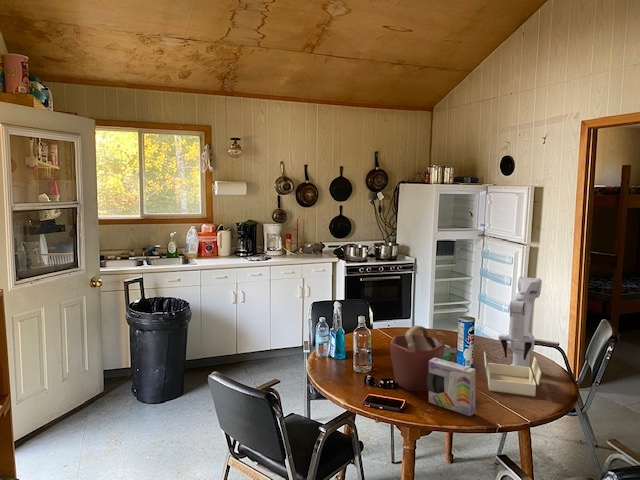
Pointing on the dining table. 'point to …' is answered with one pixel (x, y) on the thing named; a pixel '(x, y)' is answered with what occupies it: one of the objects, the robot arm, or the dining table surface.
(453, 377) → the cake pan box
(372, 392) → the dining table surface
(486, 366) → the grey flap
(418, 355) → the bucket
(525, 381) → the carton
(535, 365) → the cream flap
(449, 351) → the food container
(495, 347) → the dining table surface
